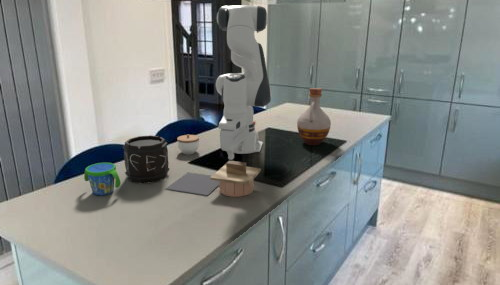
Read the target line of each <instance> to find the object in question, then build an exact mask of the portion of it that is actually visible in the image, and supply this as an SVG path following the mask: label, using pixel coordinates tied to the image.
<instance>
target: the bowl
mask: <svg viewBox="0 0 500 285" xmlns="http://www.w3.org/2000/svg"><path fill="white" fill-rule="evenodd" d="M254 184H255V178H254V179H253V180H252V182H251V183H250V184H249V185H243V184H236V183H229V182H222V181H219V186H218V189H219V192H220V194H222V195H224V196H227V197H229V198H233V197H234V198H240V197H242V198H243V197H246V196H249V195H251V194H252V193H253V192H254V187H255V186H254Z"/></svg>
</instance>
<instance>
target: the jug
mask: <svg viewBox="0 0 500 285" xmlns="http://www.w3.org/2000/svg"><path fill="white" fill-rule="evenodd" d="M308 89H309V94H308V95H309V96H308V97H309V99H310V105H309V107H308V108H307V109H306V110H304V111H303V112H302V113H301V114H300V115H299V117H298V118H297V122H296V124H297V131H298V135H299V137H300V138H301V139H302V141H303V142H304V143H305V144H306V145H308V146H319V145H321V143H323V142H324V140H325V139H326V138H327V137H328V134H329V133H330V130H331V124H332V122H331V119H330V116H328V115H327V113H326V112H325V111H323V109H322V108H321V106H320V101H321V97H322V91H323V88H319V87H317V88H315V87H310V88H308Z"/></svg>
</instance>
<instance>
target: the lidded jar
mask: <svg viewBox="0 0 500 285" xmlns="http://www.w3.org/2000/svg"><path fill="white" fill-rule="evenodd" d="M176 139H177V140H176V141H177V147H178V149H179V151H180V152H181V153H182V154H183V155H193V154H195V153H196V151H197V150H198V148H199V147H200V146H199V145H200V138H199V136H198V135H195V134H184V135H180V136H178V137H177V138H176Z"/></svg>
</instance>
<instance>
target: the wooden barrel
mask: <svg viewBox="0 0 500 285" xmlns="http://www.w3.org/2000/svg"><path fill="white" fill-rule="evenodd" d="M122 149H123V159H124V165H125V166H124V167H125V172H124V173H125V176H126V177H127V178H128V179H129V180H130V182H132V183H136V184H141V185H142V184H151V183H153V184H154V183H157V182H159V181H163V180H164V179H165V178H166V177H167V176H168V172H170V168H169V155H168V153H169V152H168V151H169V150H168V142H167V141H166V139H165V138H163V137H162V136H159V135H152V134H151V135H140V136H135V137H130V138H128V139H127V140H126V141H125V142H124V145H122Z"/></svg>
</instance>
